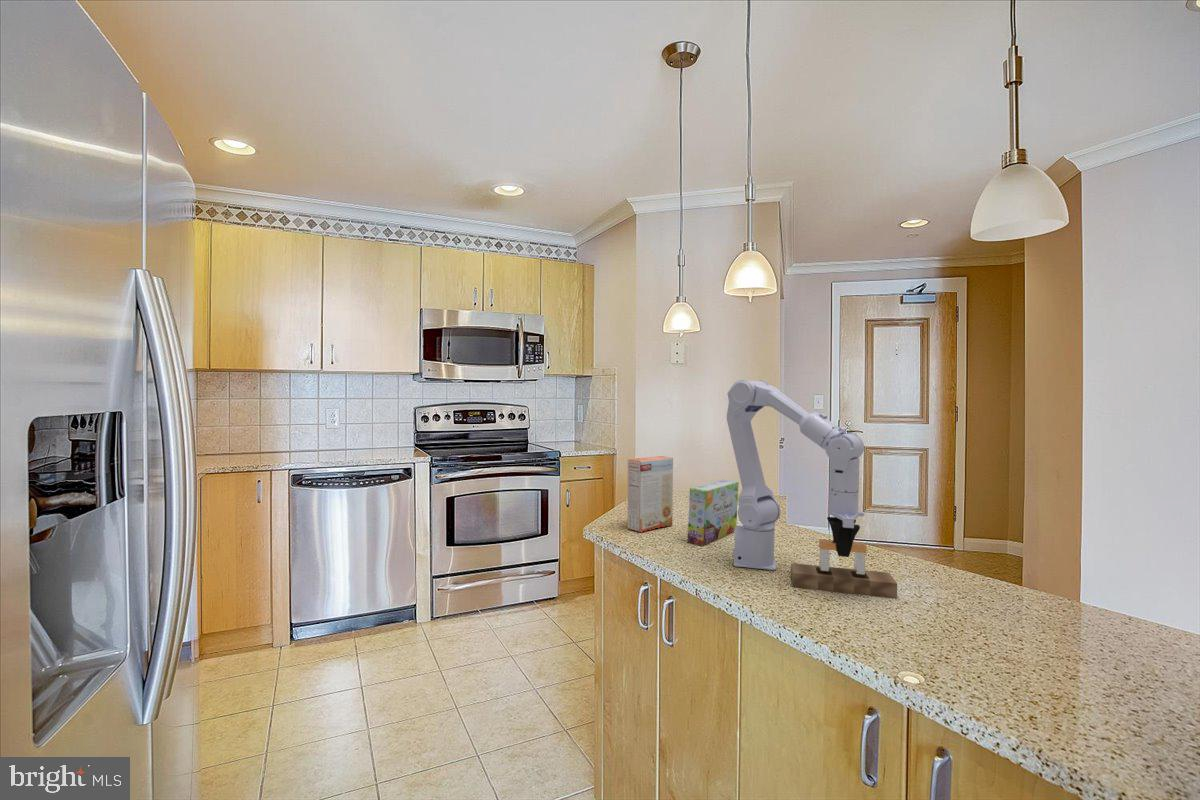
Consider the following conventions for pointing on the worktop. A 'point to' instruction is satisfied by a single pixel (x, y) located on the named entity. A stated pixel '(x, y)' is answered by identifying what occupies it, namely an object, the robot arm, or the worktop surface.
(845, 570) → the brown wooden peg board
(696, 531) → the snack box
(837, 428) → the robot arm
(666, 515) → the cracker box
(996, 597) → the worktop surface
